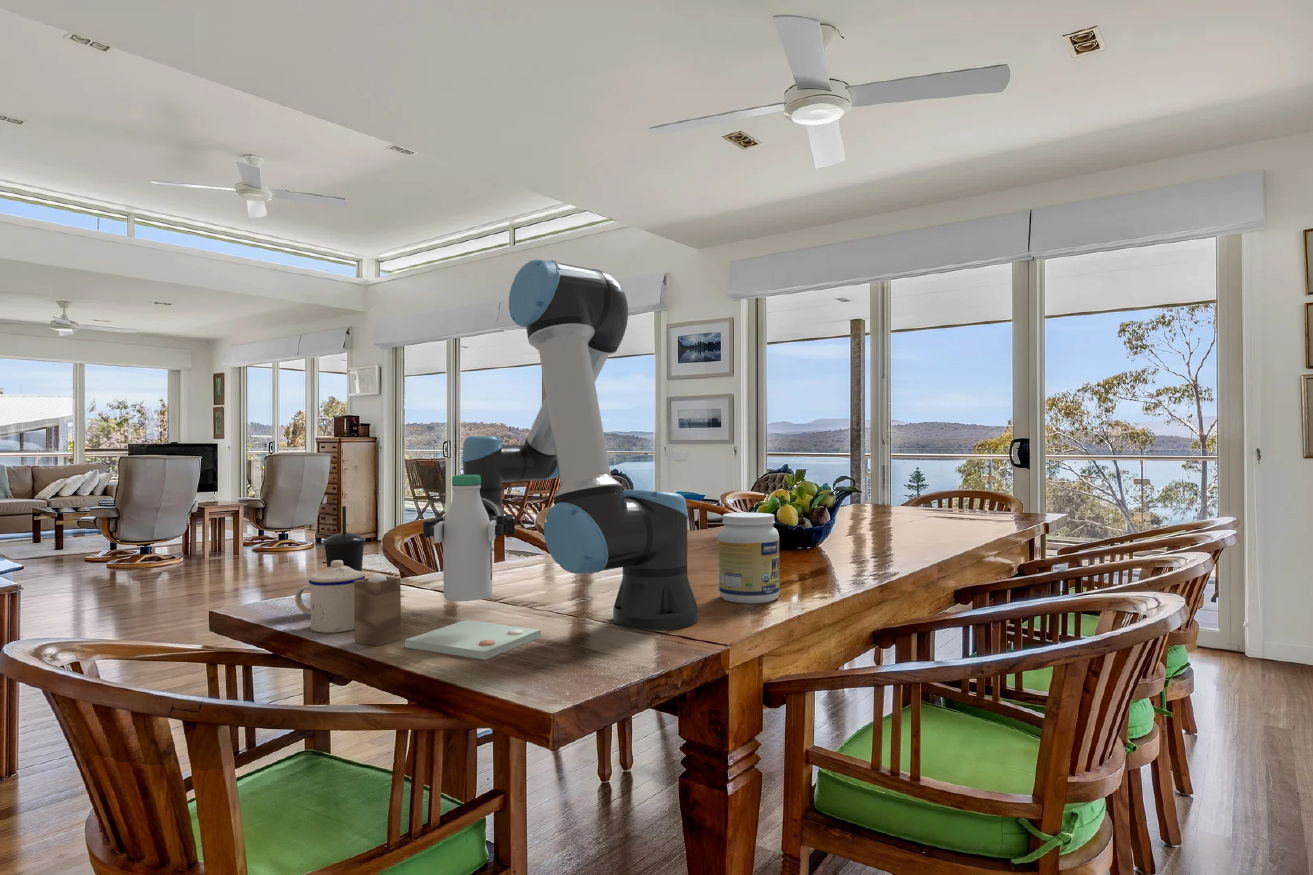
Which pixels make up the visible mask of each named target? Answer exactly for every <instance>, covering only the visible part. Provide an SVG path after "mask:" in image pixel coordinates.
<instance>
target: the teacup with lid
mask: <svg viewBox="0 0 1313 875" xmlns="http://www.w3.org/2000/svg"><path fill="white" fill-rule="evenodd" d="M365 578H366V575H365V574H364V572H363V571H362V572H361V571H356V570H354V569H352V568H350V567H348V566H343V561H342V560H335V561H332V562H331V567H328V568H327V567H326V568H324V569H323V570H322V571H319V572H317V573H315V574H314V573H313V574H312V575H311V576H310V577H309V580H308V584H307V585H304V586H301V587H299V588H298V589H297V590H296V592H295V595H294V600H295V604H296V607H297V609H298V610H299V611H301V612H302V613H303V614H307V615H310V629H311V631H312V632H315V633H319V634H320V633H321V634H323V633H324V634H335V633H343V632H349V631H353V630H355V619H354V581H356V580H361V579H365ZM309 584H310V585H309ZM305 590H306V591H310V594H309V595H310V596H309V597H310V608H308V607H307V606H305V604H304V603H303V601H302V594H303V592H304V591H305Z"/></svg>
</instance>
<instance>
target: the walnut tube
mask: <svg viewBox="0 0 1313 875" xmlns="http://www.w3.org/2000/svg"><path fill="white" fill-rule="evenodd" d="M384 576H385V577H386V579H387V580H384V581H379V582H371V581H368V579H369V577H367V578H366V577H365V579H361V580H356V581H354V619H355V629H354V643H355V644H360V645H366V646H367V645H368V646H373V647H380V646H382V645H385V644H389V643H392V642H395V641H397V640H398V641H399V640H401V639H402V618H401V617H402V613H401V612H402V609H401V607H402V606H401V599H402V598H401V577H396V576H395V577H394V576H393V577H392V576H386V575H384Z"/></svg>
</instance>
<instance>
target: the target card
mask: <svg viewBox="0 0 1313 875" xmlns="http://www.w3.org/2000/svg"><path fill="white" fill-rule="evenodd" d="M540 638H542V629H537V628H531V627H530V628H529V627H523V626H515V625H507V624H500V623H491V622H485V621H484V622H482V621H477V620H468V619H464V620H461V621H459V622H455V623H453V624H449V625H446V626H442V627H439V628H437V629H433V630H431V631H428V632H424V633H422V634H418V635H415V636H413V637H410V638H406V639H405V640H404V647H405V648H409V649H414V650H419V651H427V652H432V653H433V652H434V653H437V654H446V655H451V656H457V657H464V658H470V659H478V660H485V661H486V660H488V659H490V658H494V657H496V656H499V655H501V654H502V653H503V654H504V653H505V652H508V651H510V650H512V648H513V649H515V648H518V647H521V646H522V644H523V645H525V644H527V643H530V642H533V641H535V640H537V639H540ZM500 653H501V654H500Z"/></svg>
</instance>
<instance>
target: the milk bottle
mask: <svg viewBox="0 0 1313 875" xmlns="http://www.w3.org/2000/svg"><path fill="white" fill-rule="evenodd" d="M480 484H481V476H480V475H464V474H456V475H453V476H452V477H451V485H452V488H451V489H452V490H453V496H452V500H451V503H450V506H449V508H448V511H447V512H446V515H445V517H446V518H445V521H444V528H443V540H442V558H443V559H442V561H443V562H442V565H443V566H442V567H443V568H442V569H443V570H442V571H443V575H442V576H443V596H444V598H445V600H446V601H452V602H472V601H480V600H484V599H488V598H490V597H491V596H492V594H493V552H492V551H493V550H492V549H493V548H492V547H493V546H492V544H493V543H492V542H493V541H489V530H488V524H489V523H490V520H489V516H488V514H487V511H486V509H485V507H484V505H483V503H482V500H481V497H480V488H481V485H480Z"/></svg>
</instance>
